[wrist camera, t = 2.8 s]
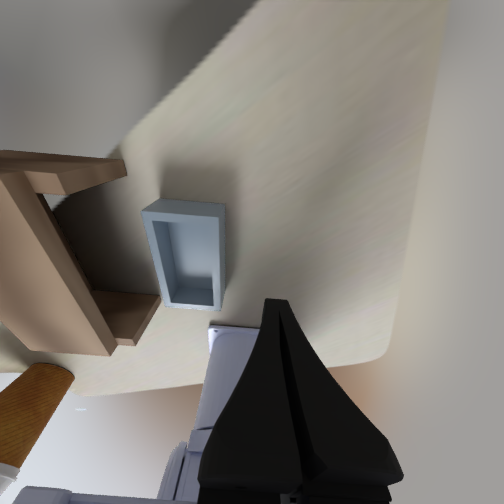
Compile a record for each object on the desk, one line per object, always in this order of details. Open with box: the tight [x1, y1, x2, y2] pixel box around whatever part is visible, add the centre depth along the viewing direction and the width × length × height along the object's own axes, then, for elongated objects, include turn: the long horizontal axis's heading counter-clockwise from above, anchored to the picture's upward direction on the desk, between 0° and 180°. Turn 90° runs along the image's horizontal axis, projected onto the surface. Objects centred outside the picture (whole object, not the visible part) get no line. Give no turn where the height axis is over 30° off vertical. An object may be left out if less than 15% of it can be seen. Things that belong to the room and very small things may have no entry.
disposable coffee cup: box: [0, 363, 74, 495], centre depth 25 cm, size 10×10×12 cm
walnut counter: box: [0, 150, 161, 357], centre depth 14 cm, size 8×14×6 cm, turn 176°
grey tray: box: [141, 199, 225, 311], centre depth 16 cm, size 5×9×3 cm, turn 176°
